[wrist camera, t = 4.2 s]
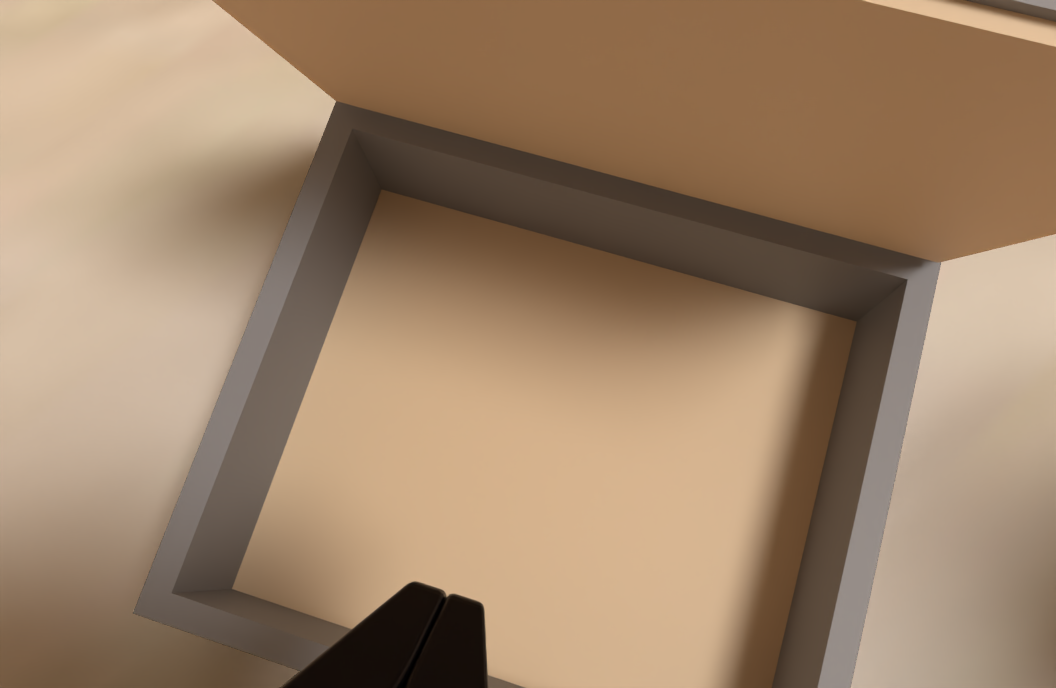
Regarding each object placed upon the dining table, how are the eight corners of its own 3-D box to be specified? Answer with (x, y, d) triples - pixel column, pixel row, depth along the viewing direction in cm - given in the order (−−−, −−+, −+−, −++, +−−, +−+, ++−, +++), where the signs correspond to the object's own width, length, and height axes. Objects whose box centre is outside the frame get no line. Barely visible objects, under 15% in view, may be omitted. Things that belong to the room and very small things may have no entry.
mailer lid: (1491, 140, 7) (1521, 51, 7) (-94, -237, 8) (-75, -310, 8) (944, 265, 19) (953, 234, 19) (331, 101, 20) (339, 71, 20)
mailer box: (767, 794, 20) (816, 848, 16) (209, 604, 22) (132, 613, 18) (876, 312, 23) (941, 261, 19) (372, 173, 24) (337, 99, 21)
